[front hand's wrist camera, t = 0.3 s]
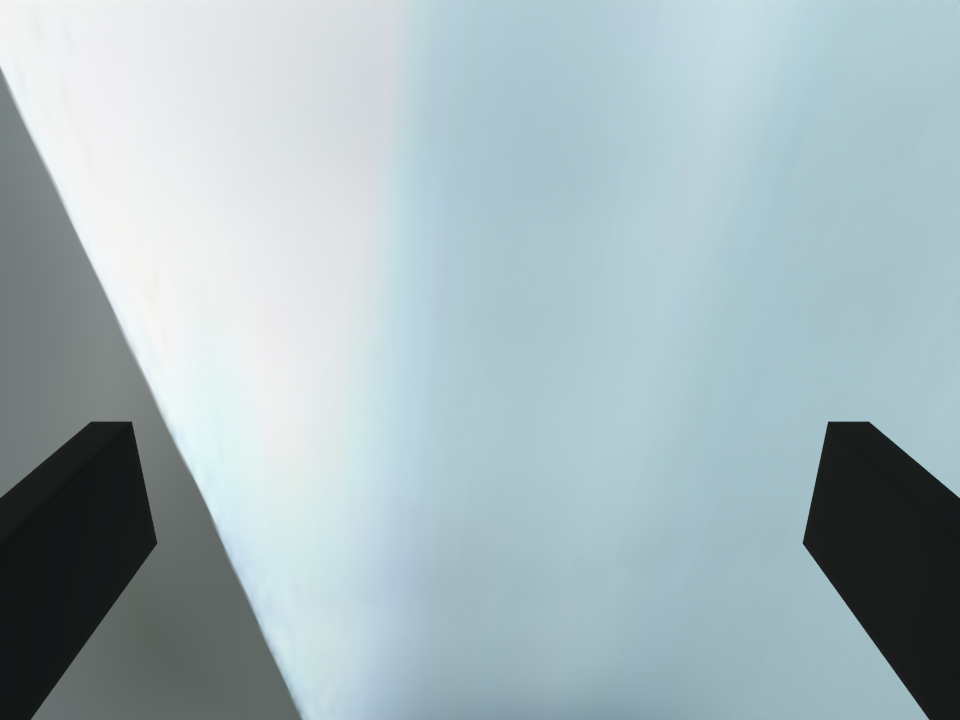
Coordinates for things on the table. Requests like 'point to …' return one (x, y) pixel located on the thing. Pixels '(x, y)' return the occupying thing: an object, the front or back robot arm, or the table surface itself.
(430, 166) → the table surface
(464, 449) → the table surface
